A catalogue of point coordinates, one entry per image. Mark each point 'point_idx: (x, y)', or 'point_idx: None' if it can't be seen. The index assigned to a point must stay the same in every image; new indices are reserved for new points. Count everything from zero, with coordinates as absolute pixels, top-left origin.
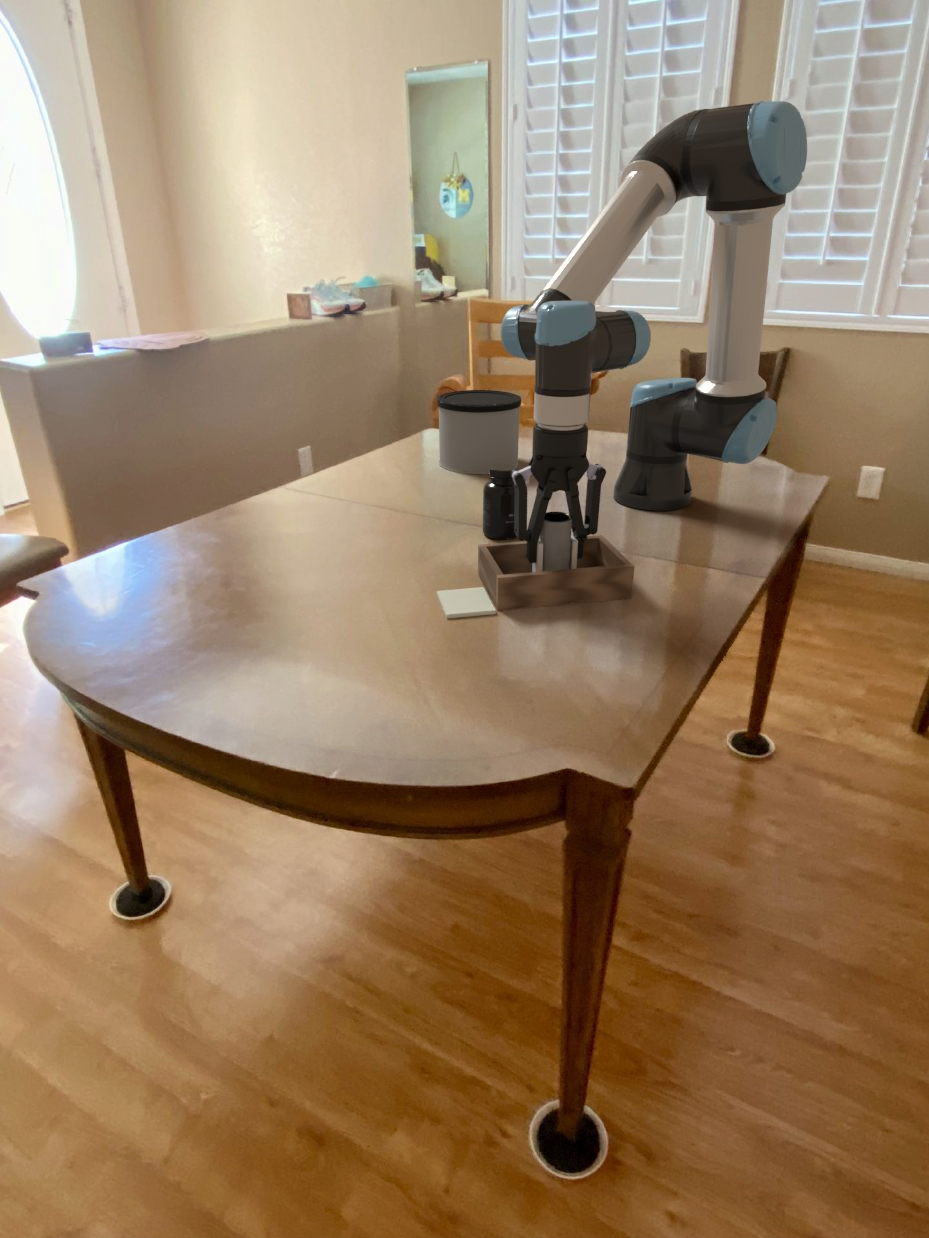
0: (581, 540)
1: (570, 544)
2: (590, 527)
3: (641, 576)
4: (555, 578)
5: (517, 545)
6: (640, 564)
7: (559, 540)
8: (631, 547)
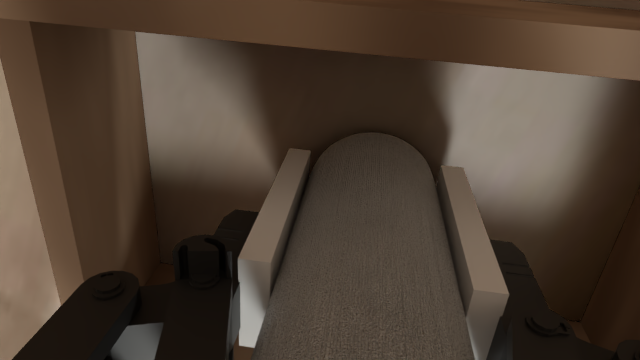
0: (218, 245)
1: (285, 260)
2: (118, 309)
3: (17, 150)
4: (487, 12)
5: None
6: (4, 237)
7: (381, 262)
8: (12, 347)
